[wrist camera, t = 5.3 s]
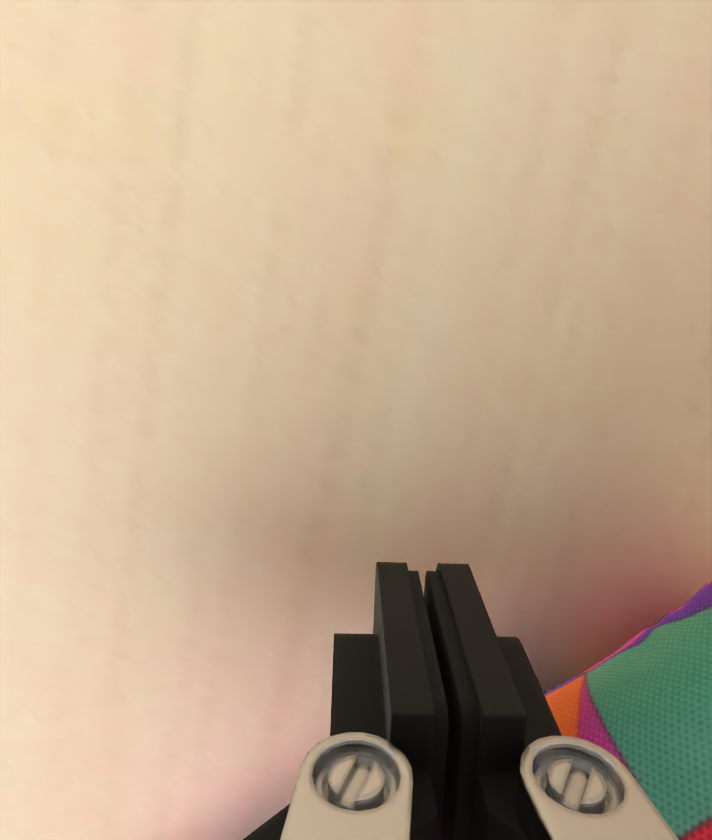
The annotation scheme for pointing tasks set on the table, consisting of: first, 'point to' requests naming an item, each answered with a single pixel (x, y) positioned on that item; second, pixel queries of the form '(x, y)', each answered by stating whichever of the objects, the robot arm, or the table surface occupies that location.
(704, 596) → the pencil case
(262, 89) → the table surface
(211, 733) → the table surface
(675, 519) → the table surface
